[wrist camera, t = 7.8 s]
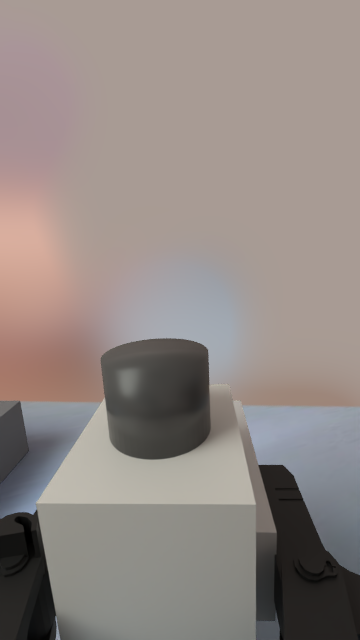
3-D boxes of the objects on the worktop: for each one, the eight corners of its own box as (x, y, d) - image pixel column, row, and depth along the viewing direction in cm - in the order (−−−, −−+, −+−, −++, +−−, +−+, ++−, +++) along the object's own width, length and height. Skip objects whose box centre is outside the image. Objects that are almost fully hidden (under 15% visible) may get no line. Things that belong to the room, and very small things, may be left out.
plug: (234, 633, 13) (228, 326, 10) (255, 874, 8) (255, 399, 5) (138, 629, 13) (105, 330, 10) (100, 860, 8) (18, 403, 5)
